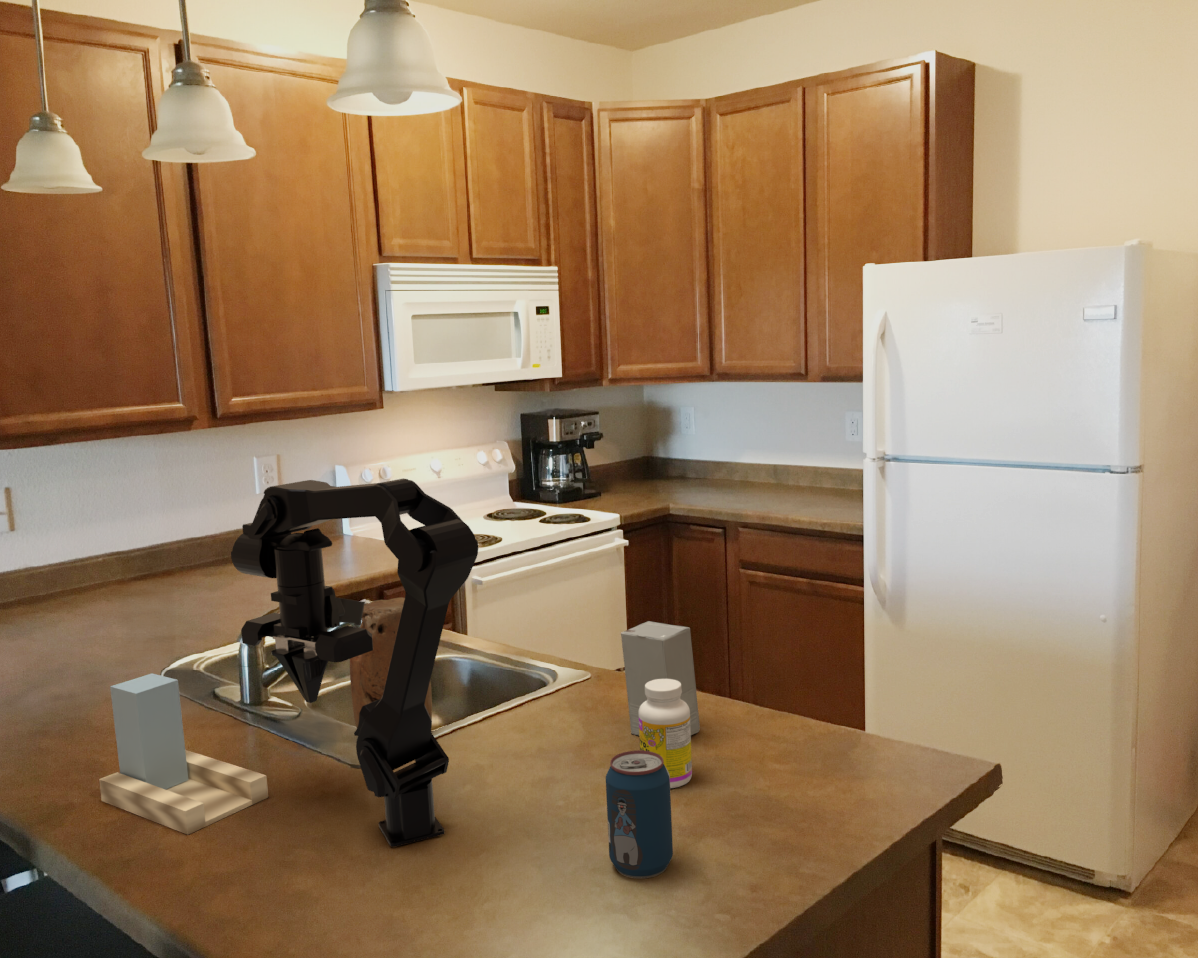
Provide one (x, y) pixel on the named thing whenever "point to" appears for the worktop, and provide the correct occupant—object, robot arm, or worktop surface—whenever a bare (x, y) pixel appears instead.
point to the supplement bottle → (667, 728)
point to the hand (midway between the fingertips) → (311, 701)
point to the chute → (188, 794)
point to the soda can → (639, 814)
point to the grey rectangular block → (150, 730)
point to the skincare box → (658, 665)
